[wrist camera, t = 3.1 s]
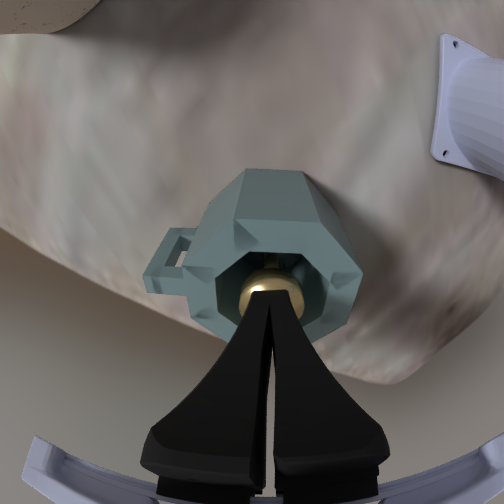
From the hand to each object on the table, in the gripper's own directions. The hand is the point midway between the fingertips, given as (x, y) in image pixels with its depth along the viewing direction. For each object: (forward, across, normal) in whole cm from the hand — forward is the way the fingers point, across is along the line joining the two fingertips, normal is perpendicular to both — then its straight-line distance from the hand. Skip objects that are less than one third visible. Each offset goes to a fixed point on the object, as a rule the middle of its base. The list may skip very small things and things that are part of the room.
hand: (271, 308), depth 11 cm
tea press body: (+7, +1, 0) cm, 7 cm away
